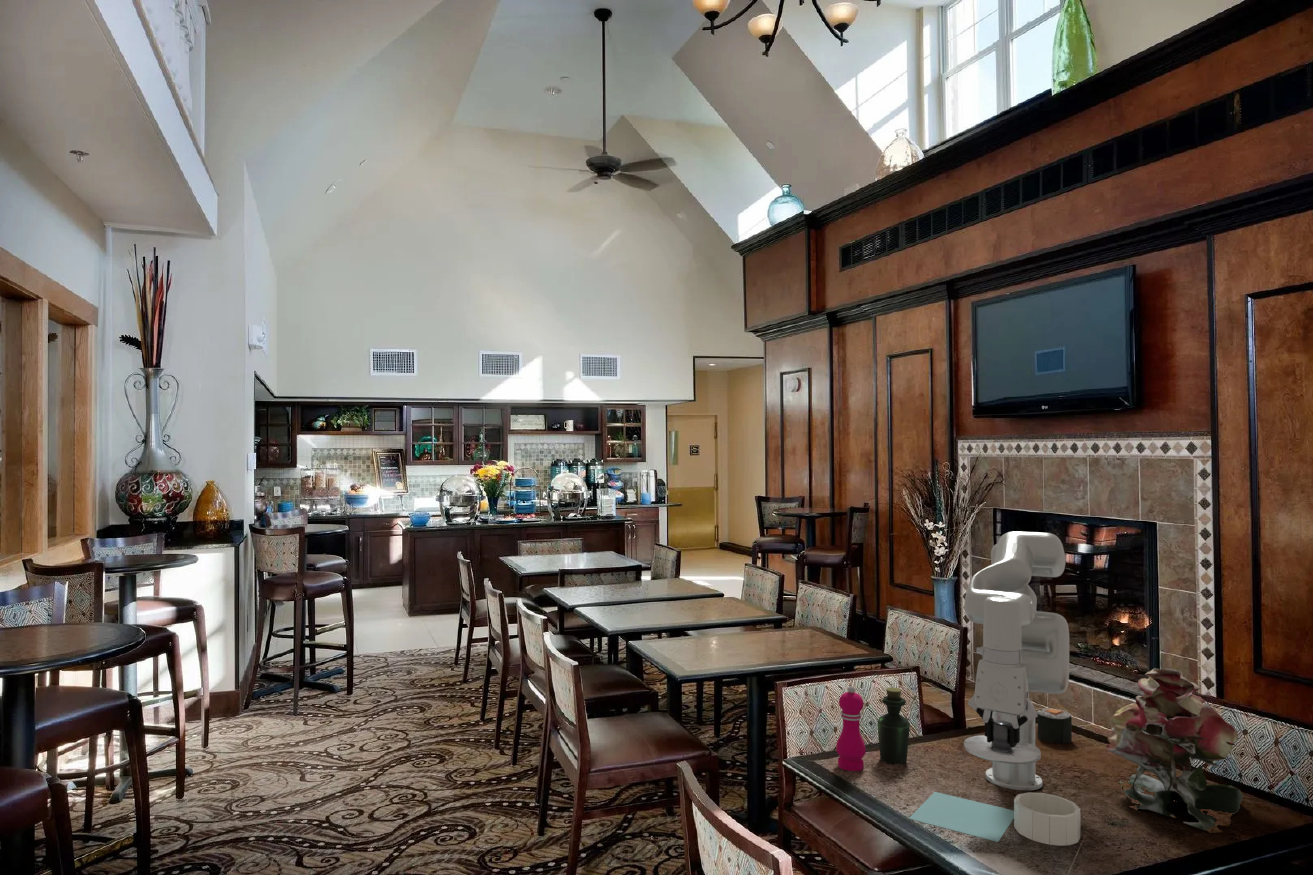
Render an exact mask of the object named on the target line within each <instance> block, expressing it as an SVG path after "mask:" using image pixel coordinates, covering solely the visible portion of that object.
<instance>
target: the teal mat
mask: <svg viewBox="0 0 1313 875" xmlns="http://www.w3.org/2000/svg"><path fill="white" fill-rule="evenodd" d="M908 819H909V820H912V821H916V822H920V823H924V824H928V825H931V826H935V827H938V828H943V829H947V830H949V831H950V830H951V831H953V832H958V833H962V834H965V835H969V836H973V837H975V838H976V837H977V838H980V839H985V840H988V841H992V842H995V843H999V842H1000V840H1001V839H1002V837H1003V835H1004V834H1005V832H1006V831H1007V829H1008V828H1009V826H1010V825H1011V823H1012V822H1013V821H1014V809H1009V808H1004V807H1000V806H996V805H991V804H988V803H984V802H979V801H975V800H970V799H967V798H963V797H958V796H954V795H950V794H947V793H943V792H942V793H941V792H938V791H934V792H933V793H932V794H931V795H930V796H929V797H928V798H927V799H926V800H925V801H924V802H923V803H922V804H921V805H920V806H919V807H918V809H916V811H915V812H914V813H913V814H912V815H911V816H910V817H909V818H908Z"/></svg>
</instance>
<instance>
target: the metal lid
mask: <svg viewBox="0 0 1313 875" xmlns="http://www.w3.org/2000/svg"><path fill="white" fill-rule="evenodd" d="M1011 727H1012V724H1011V723H1010V722H1007V721H1001V720H994V721H992V742H990V743H989V742H987V737H986V736H985V734H984V735H974V736H970V737H967V738H965V739H964V742H963V746H964V747H963V748H964V750H965V751H966V752H968V753H969V754H971V755H973V756H975V757H978V758H980V759H982V760H987V761H991V762H992V761H995V762H1001V763H1009V764H1027V763H1033V762H1035V763H1036V762H1038V761H1039V760H1040V759H1041V758H1042V757H1041V756H1042V754H1041V753H1042V752H1041V749H1040V748H1038V747H1037V746H1036V745H1035V746H1034V745H1032V744H1030V743H1028V742H1025V741H1022V740H1020V741H1019V743H1017V745H1016V746H1015V747H1014V748H1013V747H1011V746H1010V728H1011Z"/></svg>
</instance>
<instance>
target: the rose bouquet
mask: <svg viewBox="0 0 1313 875" xmlns="http://www.w3.org/2000/svg"><path fill="white" fill-rule="evenodd" d="M1144 675H1145V676H1147V677H1144V678H1140V679H1139V680H1138V682H1137V684H1138V687H1139V688H1138V689H1139V690H1140V691H1142V692H1143V694H1142V695H1137V696H1135V699H1134V700H1135V703H1134V702H1133V703H1132V702H1131V703H1130V704H1127V705H1124V706H1123V707H1121V708H1120V709H1118V710H1116V711H1115V714H1113V715H1112V716H1111V717H1110V718H1109V719H1110V723H1112V724H1114V725H1113V727H1112V728H1111V729H1110V732H1111V733H1112V734H1114V735H1113V736H1111V737H1108V738H1107V741H1108V742H1109V743H1106V745H1105V749H1106V751H1108V752H1109V753H1112V754H1115V755H1116V756H1119V757H1121V758H1123V759H1125V760H1127V761H1129V762H1131V763H1133V764H1136V765H1138V766H1137V769H1136V774H1131V776H1129V777H1128V778H1127V779H1130V781H1128V783H1129V784H1131V785H1133V786H1132V787H1131V788H1130V789H1127V790H1125V791H1123V790H1122V792H1125V796H1130V798H1133V799H1134V800H1138V801H1139V803H1141V804H1142V805H1140V806H1139V805H1137V804H1135V806H1137V807H1138V809H1141V810H1145V811H1146V810H1147V811H1151V812H1153V813H1156V814H1159V813H1160V814H1159V815H1162V814H1163V816H1165V815H1166V816H1165V817H1168V816H1169V817H1168V818H1170V817H1171V816H1170V815H1172V816H1175V817H1176V818H1177V815H1174V814H1173V813H1172V812H1170V811H1169V808H1170V809H1173V808H1175V807H1174V806H1175V805H1176V803H1175V802H1174V801H1173V800H1175V801H1177V802H1180V801H1182V802H1181V803H1184V804H1186V805H1187V806H1186V807H1187V813H1188V814H1189V815H1191V816H1193V817H1194V818H1195V819H1196V820H1197V821H1198V822H1194V821H1193V822H1192V821H1191V822H1189V821H1183V824H1186V825H1189V826H1191V827H1194V828H1197V829H1199V830H1202V831H1204V830H1207V829H1209V828H1212V827H1213V826H1215V823H1214V822H1216V821H1217V819H1216V818H1214V817H1213V816H1210V815H1207V814H1203V813H1202V812H1201V811H1200V810H1199V809H1211V810H1215V811H1222V812H1224V813H1225V812H1228V813H1235V812H1238V810H1239V809H1240V810H1241V805H1240V803H1242V801H1243V793H1242V791H1241V789H1239V788H1238V787H1235V786H1233V785H1230V784H1229V785H1227V784H1208V782H1207V779H1206V777H1205V774H1204V769H1203V768H1204V765H1205V764H1207V765H1209V766H1212V767H1215V768H1216V769H1217V768H1218V769H1219V768H1221V769H1224V772H1226V767H1223V766H1222V765H1219V764H1216V762H1219V761H1223V760H1226V759H1227V760H1232V757H1231V758H1230V757H1228V756H1229V752H1231V751H1232V750H1233V749H1234V747H1233V746H1236V744H1235V743H1234V742H1239V740H1238V739H1239V734H1238V731H1237V729H1235V728H1234V726H1233V725H1232V724H1231V723H1228V722H1227V721H1226V720H1225V718H1223V716H1222V715H1221V714H1219V712H1218V710H1216V708H1215V707H1214V706H1211V705H1210V704H1207V703H1206V700H1205V699H1204V698H1202V696H1201V695H1196V694H1194V693H1196V692H1197V691H1199V690H1200V689H1201V688H1200V686H1199V685H1197V684H1196V683H1195V682H1192V681H1189V680H1188V679H1187V678H1185V677H1184V676H1183V672H1182V671H1180V670H1178V669H1174V668H1164V669H1162V668H1157V667H1154V668H1153V669H1151V670H1150V671H1147V672H1146V673H1144ZM1191 759H1196V760H1199V761H1201V762H1204V764H1201V765H1199V766H1197V767H1196V768H1194V769H1192V761H1191ZM1214 761H1215V762H1214ZM1176 764H1179V765H1180V766H1182V768H1183V769H1182V770H1183V771H1182V774H1181V775H1179V776H1177V770H1176ZM1146 771H1148V772H1150V773H1153V774H1154V775H1156V776H1157V778H1154V777H1152V776H1150V775H1146V774H1144V772H1146ZM1121 781H1122V780H1119V782H1118V784H1119V783H1124V782H1121ZM1125 783H1126V782H1125ZM1120 787H1122V786H1120ZM1137 787H1138V788H1137ZM1141 787H1142V789H1143V788H1146V789H1147V790H1148V791H1147V792H1155V794H1154V795H1149V794H1144V793H1141V792H1145V791H1144V790H1142V789H1141ZM1153 796H1155V797H1153ZM1138 809H1137V810H1136V811H1139V810H1138ZM1166 809H1167V810H1166ZM1238 813H1239V812H1238ZM1232 815H1233V814H1232ZM1233 816H1234V815H1233Z"/></svg>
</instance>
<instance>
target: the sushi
mask: <svg viewBox="0 0 1313 875" xmlns="http://www.w3.org/2000/svg"><path fill="white" fill-rule="evenodd" d="M1036 712H1037V713H1038V716H1037V717H1036V718H1037V734H1036V735H1037V736H1036V737H1037V739H1038V740H1039V741H1043V740H1045V741H1044V742H1046V741H1047V742H1046V743H1049V742H1051V743H1050V744H1054V743H1057V744H1056V745H1064V744H1070V742H1071V743H1072V742H1073V741H1072V740H1073V739H1072V737H1073V735H1072V734H1073V731H1072V729H1073V728H1072V726H1073V725H1072V724H1073V722H1072V721H1073V720H1072V719H1073V717H1072V714H1071V713H1069V712H1067V711H1066V710H1063V709H1062V708H1060V709H1058V708H1057V709H1056V708H1050V707H1049V708H1042V710H1040V709H1038V710H1037V711H1036Z"/></svg>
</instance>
